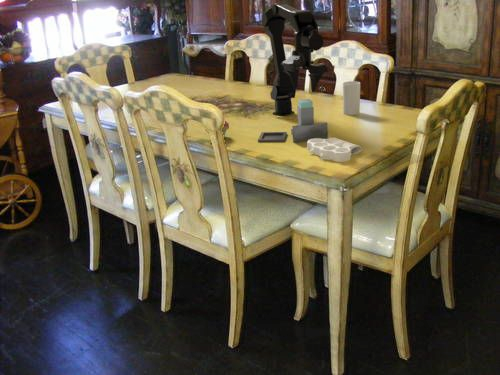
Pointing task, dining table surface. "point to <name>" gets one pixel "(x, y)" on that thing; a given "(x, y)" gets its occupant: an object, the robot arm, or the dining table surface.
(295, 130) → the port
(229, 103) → the dining table surface
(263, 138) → the tray
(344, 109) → the mug
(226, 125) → the cupcake
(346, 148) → the white muffin tray
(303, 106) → the plug
